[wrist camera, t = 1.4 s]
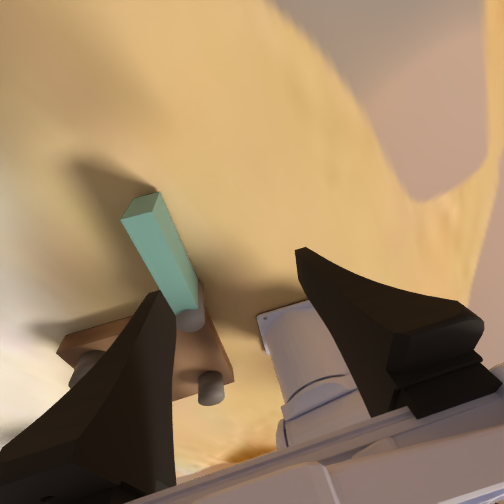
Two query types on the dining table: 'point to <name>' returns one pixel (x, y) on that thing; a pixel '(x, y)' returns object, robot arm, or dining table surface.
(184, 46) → the dining table surface
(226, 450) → the dining table surface
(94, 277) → the dining table surface
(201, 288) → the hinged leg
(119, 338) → the robot arm
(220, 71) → the dining table surface
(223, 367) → the stool seat
